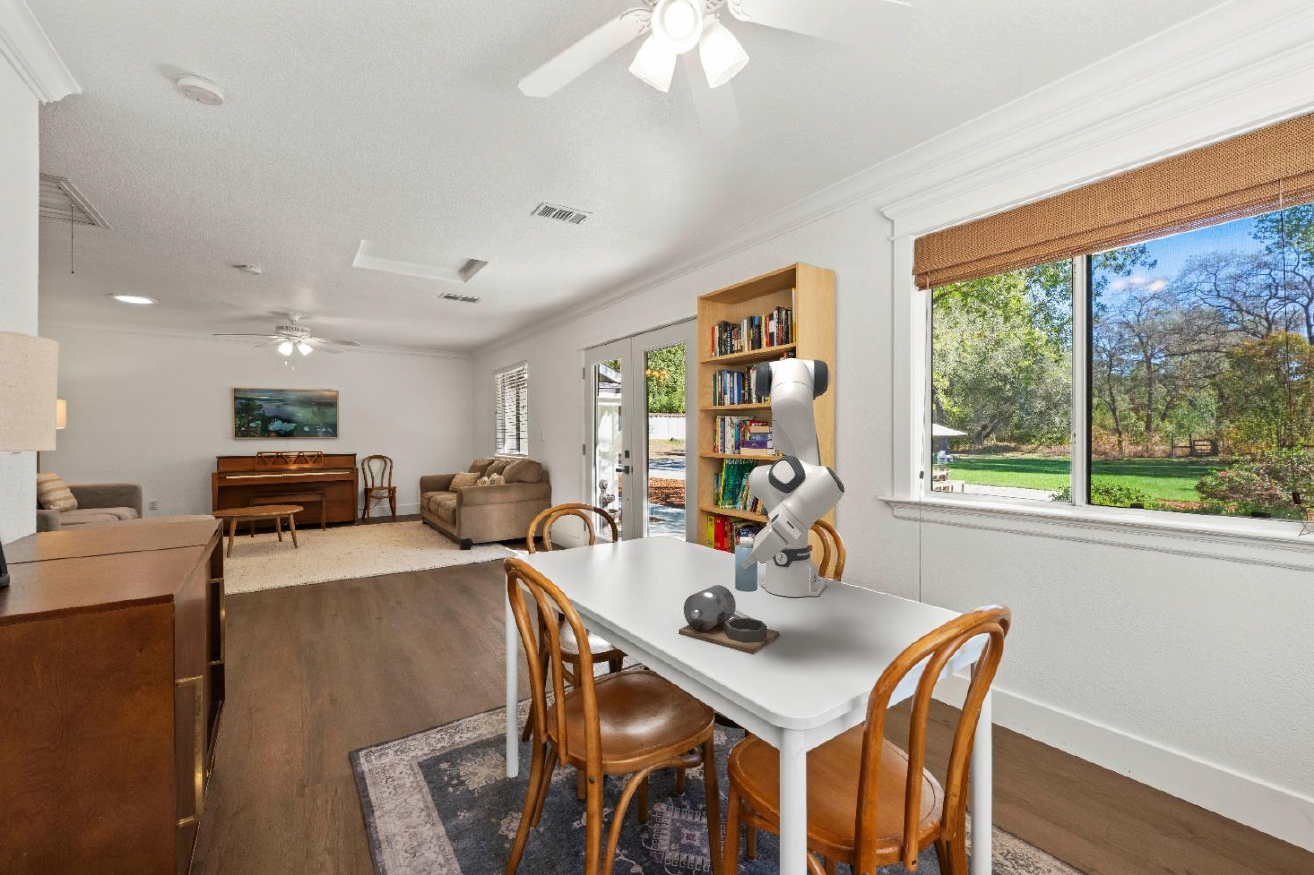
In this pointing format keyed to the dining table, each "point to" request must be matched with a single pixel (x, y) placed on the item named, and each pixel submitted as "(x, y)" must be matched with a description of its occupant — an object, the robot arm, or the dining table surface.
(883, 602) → the dining table surface
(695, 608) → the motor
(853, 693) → the dining table surface
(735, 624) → the collar
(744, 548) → the blue plastic bottle
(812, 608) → the dining table surface
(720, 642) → the base plate
